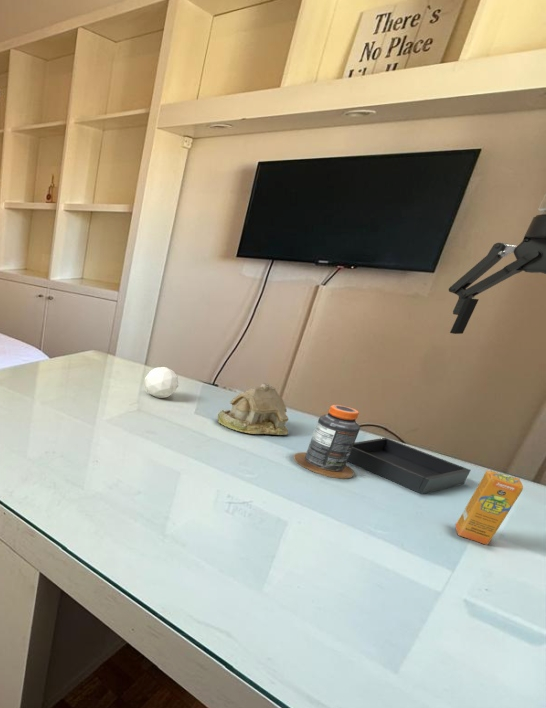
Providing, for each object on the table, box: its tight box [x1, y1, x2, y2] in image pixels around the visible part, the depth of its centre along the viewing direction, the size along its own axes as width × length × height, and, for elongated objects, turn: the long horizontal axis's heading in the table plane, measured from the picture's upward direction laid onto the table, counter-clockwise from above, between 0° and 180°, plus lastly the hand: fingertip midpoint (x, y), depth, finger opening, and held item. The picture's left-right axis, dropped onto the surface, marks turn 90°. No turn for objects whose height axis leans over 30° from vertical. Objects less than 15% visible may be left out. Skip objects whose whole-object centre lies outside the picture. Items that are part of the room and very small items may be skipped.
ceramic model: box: [217, 382, 289, 436], centre depth 99 cm, size 14×11×10 cm
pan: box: [347, 437, 471, 495], centre depth 85 cm, size 13×13×3 cm
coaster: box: [293, 452, 354, 480], centre depth 85 cm, size 9×9×1 cm
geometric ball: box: [144, 366, 179, 399], centre depth 114 cm, size 8×8×8 cm
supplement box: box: [455, 470, 524, 546], centre depth 65 cm, size 3×3×10 cm
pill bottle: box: [305, 404, 361, 471], centre depth 83 cm, size 6×6×11 cm
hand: (505, 342), depth 80 cm, fingers open, 13 cm apart
